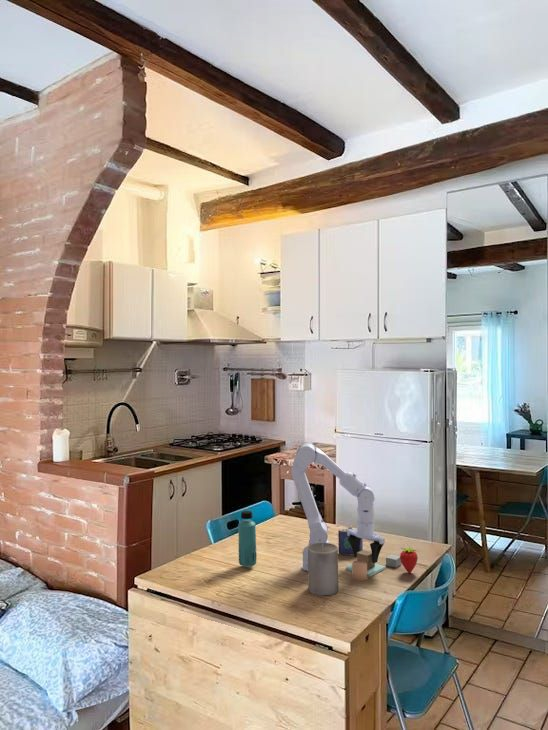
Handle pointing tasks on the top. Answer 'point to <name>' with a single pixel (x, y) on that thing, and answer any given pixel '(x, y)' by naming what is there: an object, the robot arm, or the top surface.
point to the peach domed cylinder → (359, 570)
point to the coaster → (370, 571)
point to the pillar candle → (323, 569)
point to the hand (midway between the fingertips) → (365, 559)
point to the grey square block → (393, 561)
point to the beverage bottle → (247, 540)
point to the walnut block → (366, 558)
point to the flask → (346, 543)
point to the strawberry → (408, 559)
